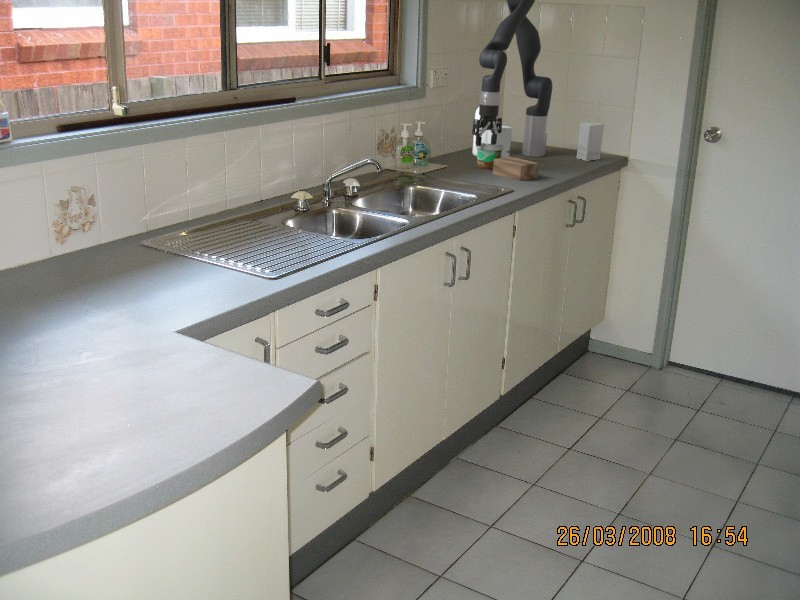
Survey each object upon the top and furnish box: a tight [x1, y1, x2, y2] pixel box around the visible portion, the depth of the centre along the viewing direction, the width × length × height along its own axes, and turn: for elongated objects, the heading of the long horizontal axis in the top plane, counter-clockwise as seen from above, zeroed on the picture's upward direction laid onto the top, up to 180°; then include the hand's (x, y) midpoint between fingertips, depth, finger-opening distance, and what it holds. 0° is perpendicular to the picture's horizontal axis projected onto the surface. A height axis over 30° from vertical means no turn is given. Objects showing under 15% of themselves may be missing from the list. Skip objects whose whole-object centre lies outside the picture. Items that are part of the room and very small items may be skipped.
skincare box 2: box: [576, 121, 605, 162], centre depth 372 cm, size 8×7×16 cm
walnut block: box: [492, 156, 540, 182], centre depth 336 cm, size 10×14×6 cm
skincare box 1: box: [487, 125, 513, 158], centre depth 358 cm, size 8×6×15 cm
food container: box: [475, 143, 503, 171], centre depth 346 cm, size 12×6×10 cm, turn 47°
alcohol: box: [471, 106, 488, 157], centre depth 369 cm, size 9×9×30 cm
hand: (485, 145), depth 344 cm, fingers open, 8 cm apart
